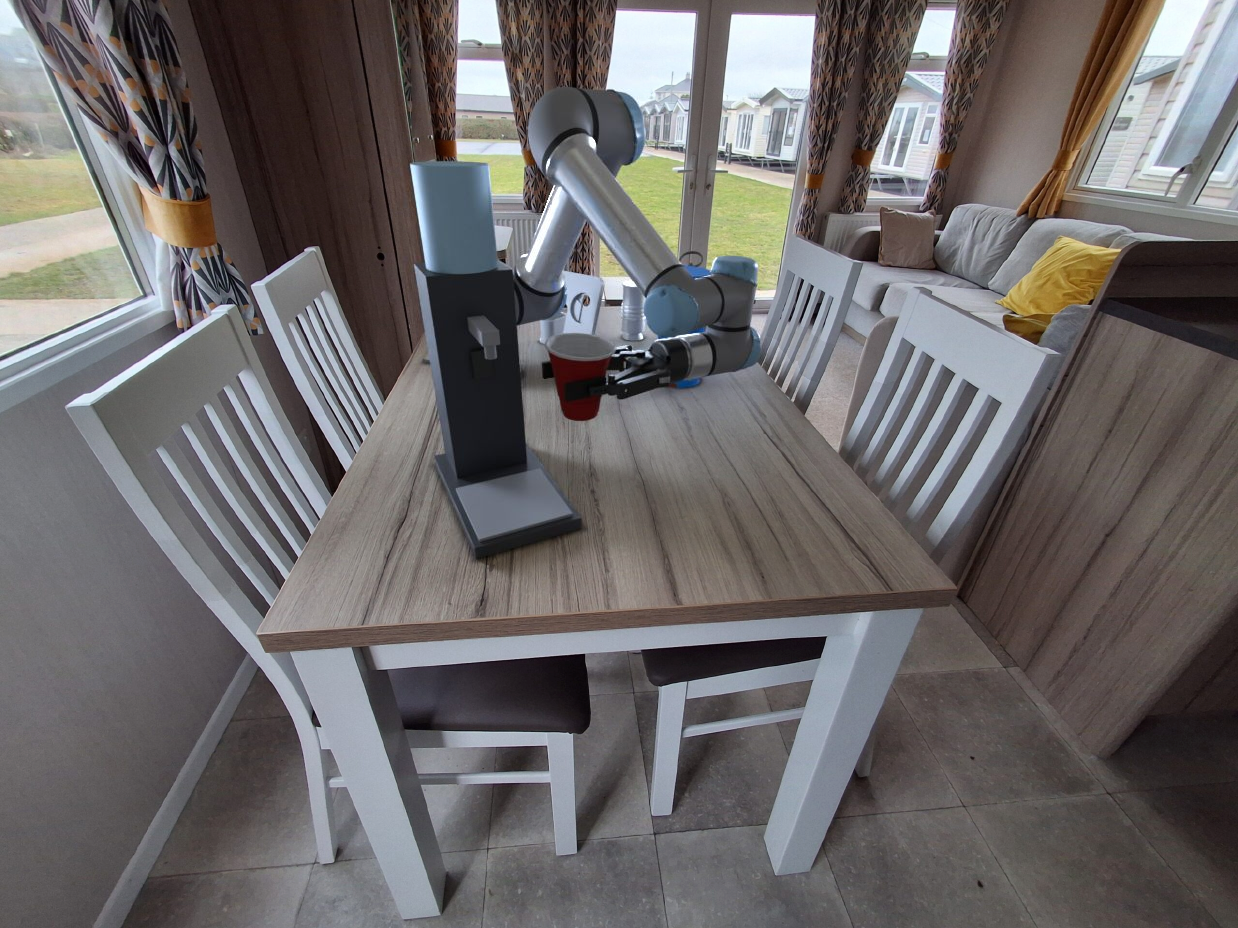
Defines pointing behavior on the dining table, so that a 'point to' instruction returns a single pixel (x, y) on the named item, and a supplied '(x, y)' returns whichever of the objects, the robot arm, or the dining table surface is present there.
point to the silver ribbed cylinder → (632, 312)
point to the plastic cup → (578, 368)
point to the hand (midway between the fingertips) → (553, 381)
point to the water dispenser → (479, 367)
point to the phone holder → (576, 307)
